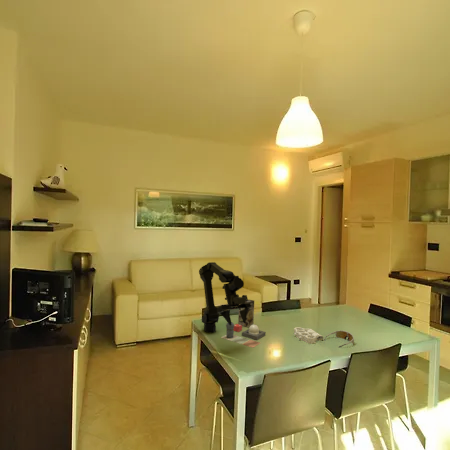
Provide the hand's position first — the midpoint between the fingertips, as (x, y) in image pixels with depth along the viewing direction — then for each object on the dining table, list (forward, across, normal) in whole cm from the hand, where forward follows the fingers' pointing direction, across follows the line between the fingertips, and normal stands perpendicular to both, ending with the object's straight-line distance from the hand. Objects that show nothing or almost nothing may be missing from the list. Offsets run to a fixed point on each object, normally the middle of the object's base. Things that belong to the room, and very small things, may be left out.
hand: (238, 324), depth 157 cm
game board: (+7, +11, +16) cm, 20 cm away
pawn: (+3, +8, +21) cm, 23 cm away
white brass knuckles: (+13, +50, +2) cm, 51 cm away
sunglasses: (+20, +60, -10) cm, 64 cm away
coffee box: (-3, +31, +32) cm, 44 cm away
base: (+6, +22, +17) cm, 28 cm away
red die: (0, +19, +27) cm, 33 cm away
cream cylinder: (+5, +22, +16) cm, 27 cm away
